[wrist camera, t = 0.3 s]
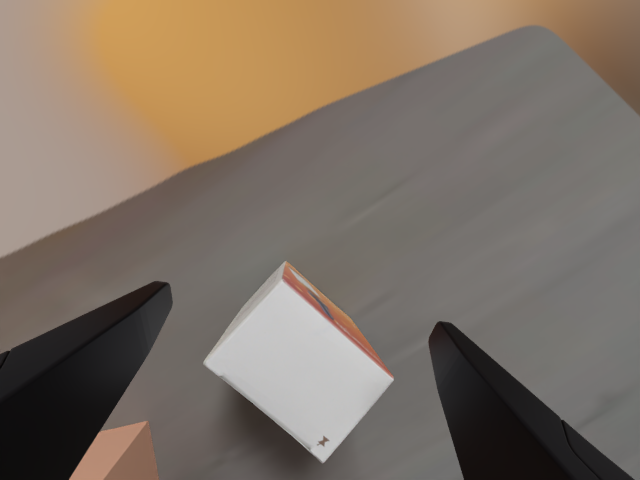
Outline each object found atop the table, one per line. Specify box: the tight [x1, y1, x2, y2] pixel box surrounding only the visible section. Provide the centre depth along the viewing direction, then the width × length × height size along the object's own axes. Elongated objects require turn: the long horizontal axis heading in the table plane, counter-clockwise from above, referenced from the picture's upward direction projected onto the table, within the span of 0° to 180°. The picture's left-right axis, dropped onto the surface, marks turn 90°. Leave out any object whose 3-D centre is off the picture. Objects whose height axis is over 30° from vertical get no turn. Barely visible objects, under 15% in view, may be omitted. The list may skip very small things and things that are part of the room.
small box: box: [204, 261, 394, 463], centre depth 18 cm, size 8×6×10 cm
